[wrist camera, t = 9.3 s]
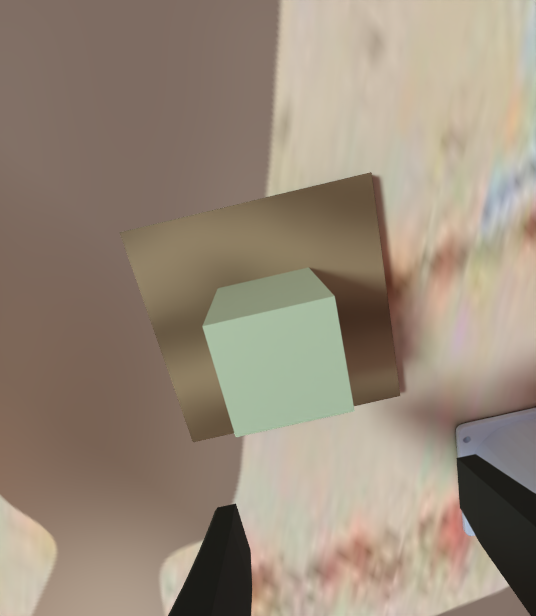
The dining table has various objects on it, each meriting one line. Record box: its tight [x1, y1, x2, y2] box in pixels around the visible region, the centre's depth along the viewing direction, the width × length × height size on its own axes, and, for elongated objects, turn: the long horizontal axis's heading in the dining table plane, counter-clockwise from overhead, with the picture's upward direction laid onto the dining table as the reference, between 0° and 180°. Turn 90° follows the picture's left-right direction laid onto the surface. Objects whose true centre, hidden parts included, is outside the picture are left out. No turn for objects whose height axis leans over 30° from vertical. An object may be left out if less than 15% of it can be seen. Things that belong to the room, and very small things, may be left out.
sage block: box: [202, 267, 354, 437], centre depth 16 cm, size 5×5×6 cm
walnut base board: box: [120, 173, 400, 442], centre depth 19 cm, size 13×13×1 cm
